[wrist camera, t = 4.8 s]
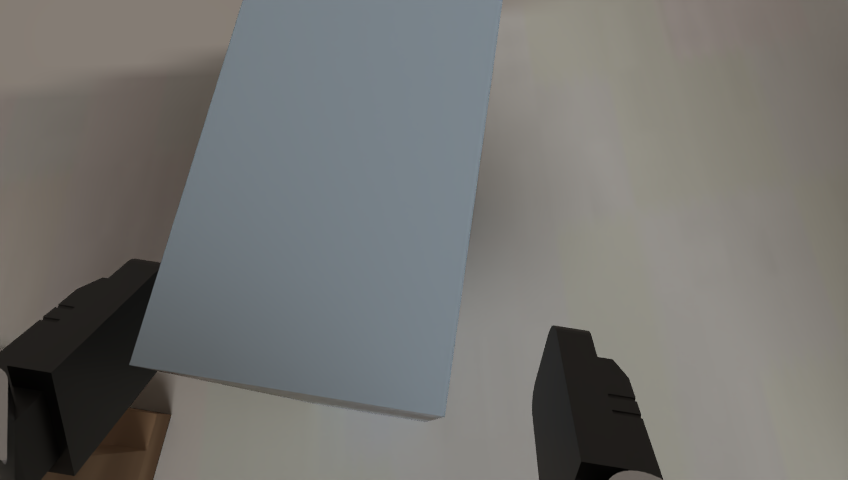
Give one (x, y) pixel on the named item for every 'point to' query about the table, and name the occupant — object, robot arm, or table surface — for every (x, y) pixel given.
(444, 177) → the pale blue upright slab
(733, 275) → the table surface
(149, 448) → the rack
